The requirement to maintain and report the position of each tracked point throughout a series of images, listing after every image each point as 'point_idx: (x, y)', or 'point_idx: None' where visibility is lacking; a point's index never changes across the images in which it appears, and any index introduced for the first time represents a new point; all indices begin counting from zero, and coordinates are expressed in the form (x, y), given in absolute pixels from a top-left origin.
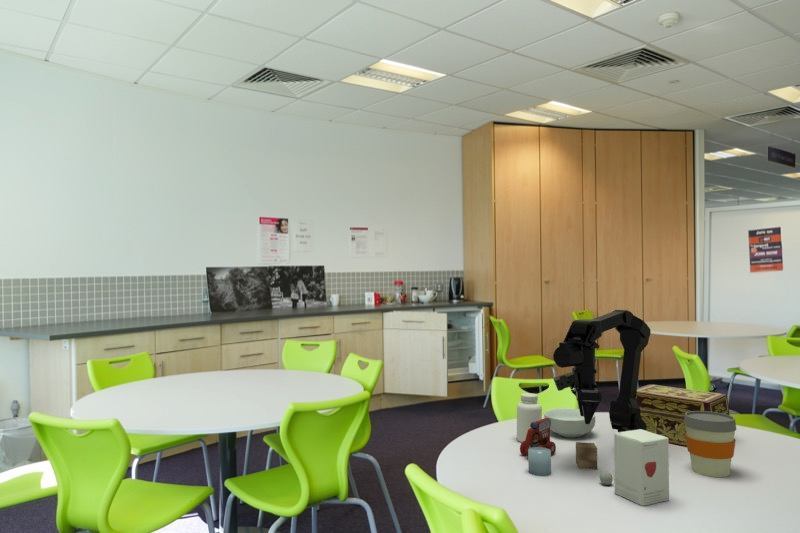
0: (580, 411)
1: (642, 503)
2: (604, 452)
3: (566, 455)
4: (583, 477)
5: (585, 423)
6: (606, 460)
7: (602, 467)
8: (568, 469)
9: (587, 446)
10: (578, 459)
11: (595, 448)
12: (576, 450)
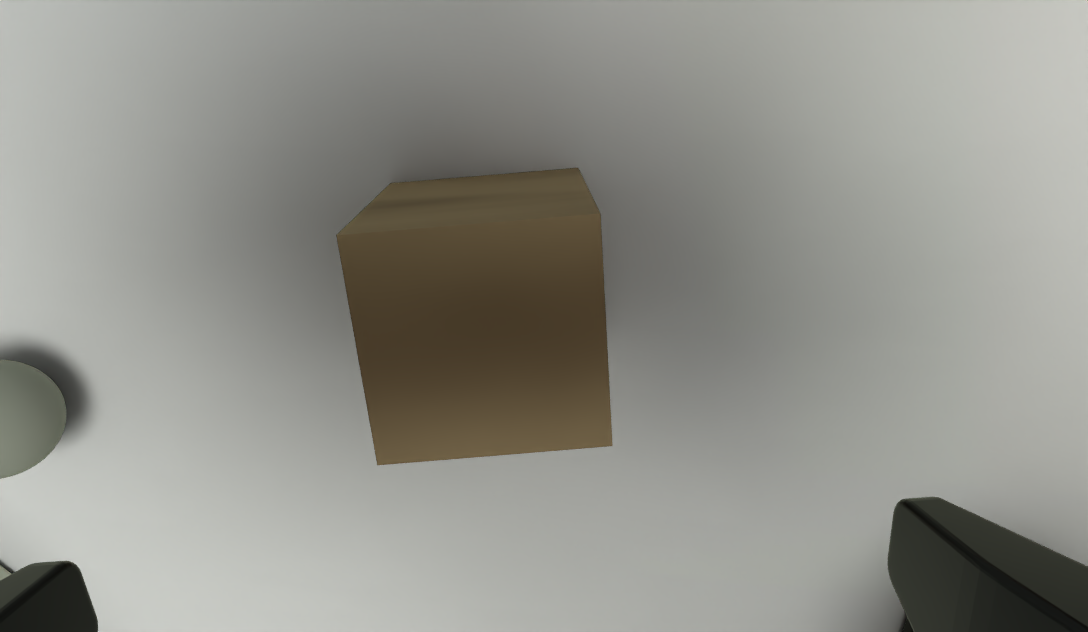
0: (970, 572)
1: None
2: (951, 457)
3: (828, 75)
4: (140, 212)
5: (29, 567)
6: (707, 452)
7: None
8: (337, 73)
9: (415, 357)
10: (379, 200)
11: (377, 443)
12: (535, 198)
